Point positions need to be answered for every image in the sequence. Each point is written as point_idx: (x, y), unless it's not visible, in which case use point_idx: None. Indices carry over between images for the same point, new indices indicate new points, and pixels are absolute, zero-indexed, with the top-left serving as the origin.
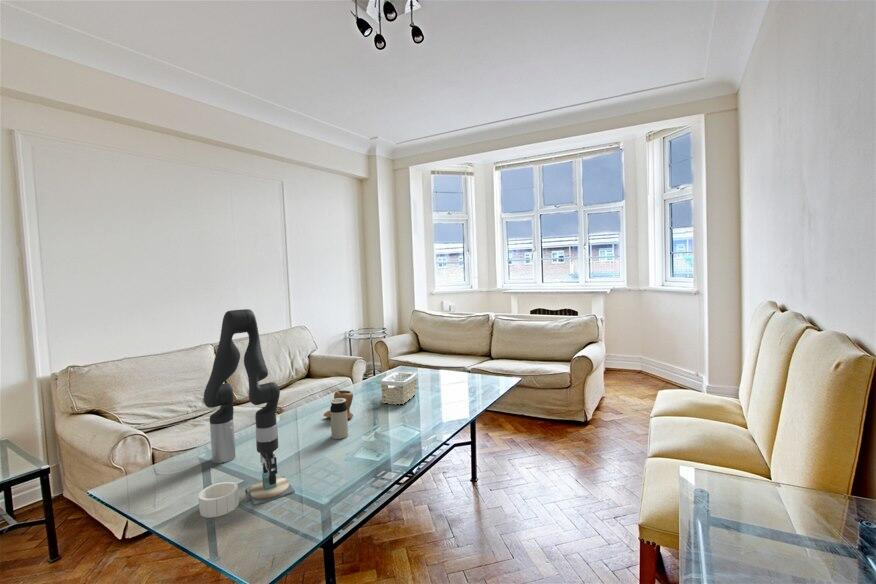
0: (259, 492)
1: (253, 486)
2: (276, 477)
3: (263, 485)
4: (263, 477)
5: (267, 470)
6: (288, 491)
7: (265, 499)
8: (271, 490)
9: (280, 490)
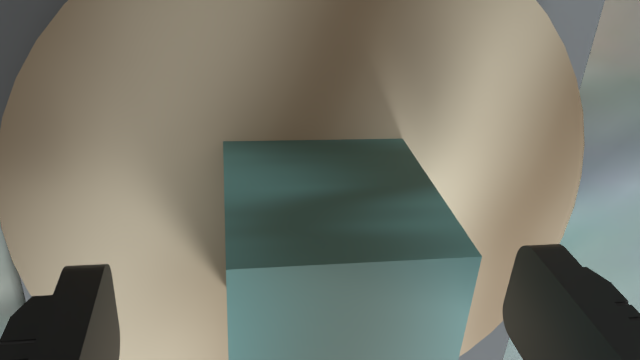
0: (208, 42)
1: (501, 10)
2: (487, 325)
3: (353, 152)
4: (351, 245)
5: (551, 356)
6: None
7: (10, 72)
8: (151, 211)
9: None
